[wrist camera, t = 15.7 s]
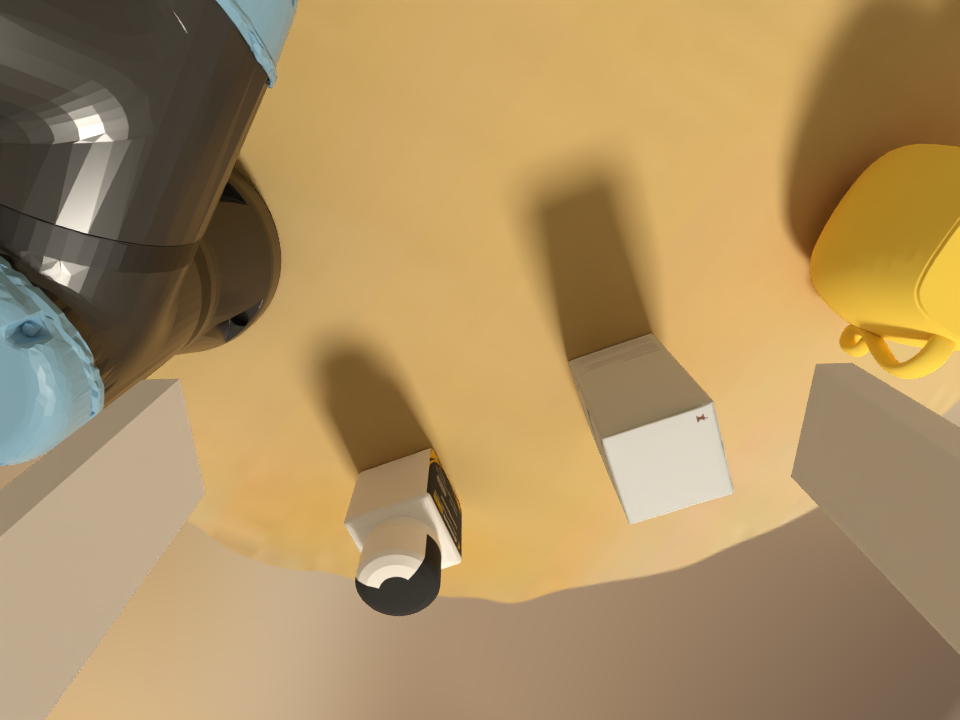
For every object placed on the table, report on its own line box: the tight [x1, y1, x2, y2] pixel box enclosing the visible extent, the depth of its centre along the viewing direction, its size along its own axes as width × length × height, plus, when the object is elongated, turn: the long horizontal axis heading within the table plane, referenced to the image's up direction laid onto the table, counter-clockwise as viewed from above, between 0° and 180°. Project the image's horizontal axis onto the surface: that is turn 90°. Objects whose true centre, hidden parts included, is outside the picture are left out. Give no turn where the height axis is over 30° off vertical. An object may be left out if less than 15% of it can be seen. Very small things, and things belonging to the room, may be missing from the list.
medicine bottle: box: [344, 448, 462, 616], centre depth 46 cm, size 7×7×12 cm
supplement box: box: [569, 333, 734, 524], centre depth 42 cm, size 7×7×13 cm
